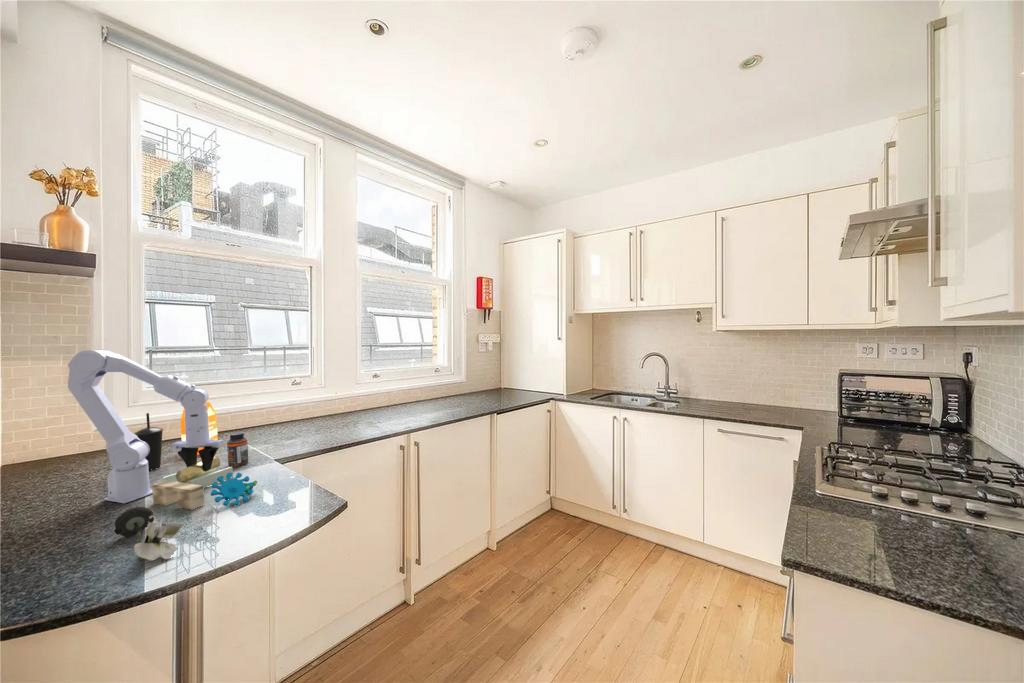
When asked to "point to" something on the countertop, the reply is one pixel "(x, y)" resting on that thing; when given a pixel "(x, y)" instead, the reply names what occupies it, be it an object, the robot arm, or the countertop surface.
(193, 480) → the pale green slotted tray
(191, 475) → the axle
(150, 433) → the drinking cup
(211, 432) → the orange juice
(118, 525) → the artificial flower
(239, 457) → the supplement bottle
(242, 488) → the gear
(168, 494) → the beam
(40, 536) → the countertop surface
